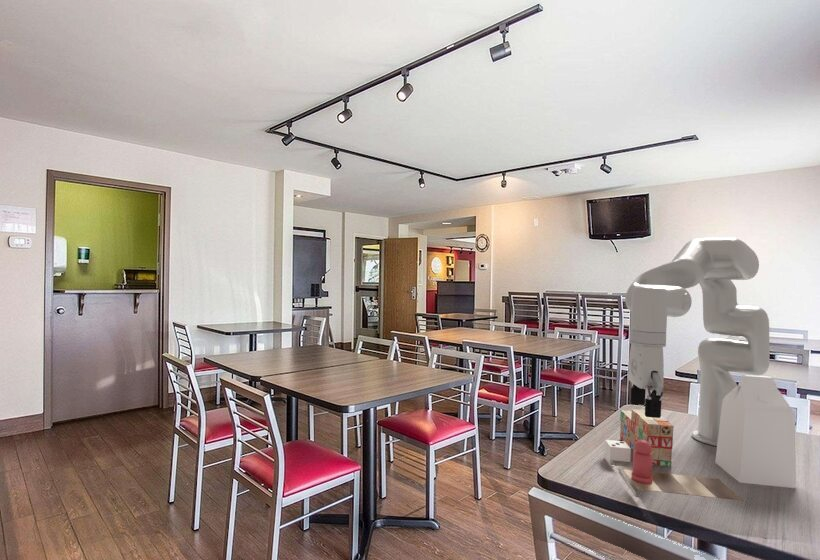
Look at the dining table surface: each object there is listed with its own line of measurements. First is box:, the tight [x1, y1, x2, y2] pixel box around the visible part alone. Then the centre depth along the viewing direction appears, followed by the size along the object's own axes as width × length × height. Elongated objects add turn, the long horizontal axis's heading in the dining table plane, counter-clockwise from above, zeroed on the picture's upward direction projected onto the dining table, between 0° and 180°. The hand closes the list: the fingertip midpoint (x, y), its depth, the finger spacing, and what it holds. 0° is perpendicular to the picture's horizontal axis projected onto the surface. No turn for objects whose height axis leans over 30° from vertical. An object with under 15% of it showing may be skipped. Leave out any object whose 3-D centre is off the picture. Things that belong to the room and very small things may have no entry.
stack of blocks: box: [619, 408, 674, 468], centre depth 124 cm, size 21×6×12 cm, turn 171°
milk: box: [714, 374, 797, 489], centre depth 110 cm, size 12×12×26 cm
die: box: [604, 439, 632, 467], centre depth 118 cm, size 5×5×5 cm
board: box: [618, 468, 744, 501], centre depth 103 cm, size 23×12×1 cm, turn 81°
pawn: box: [631, 440, 653, 484], centre depth 105 cm, size 4×4×9 cm
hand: (644, 410), depth 105 cm, fingers open, 9 cm apart
